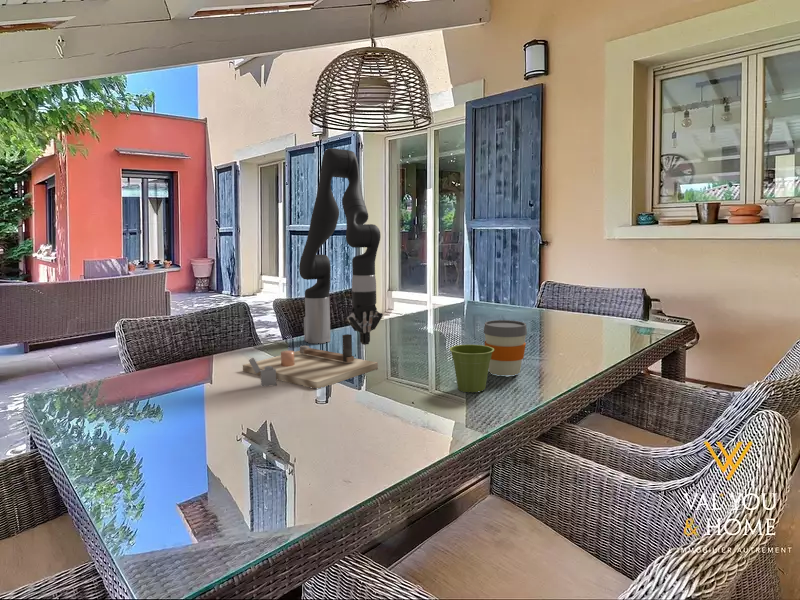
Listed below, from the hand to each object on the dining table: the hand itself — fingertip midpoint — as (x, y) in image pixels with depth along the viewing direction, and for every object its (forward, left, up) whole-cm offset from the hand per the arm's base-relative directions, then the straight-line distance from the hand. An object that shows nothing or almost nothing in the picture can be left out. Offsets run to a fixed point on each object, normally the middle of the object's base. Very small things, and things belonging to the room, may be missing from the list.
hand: (365, 344), depth 169 cm
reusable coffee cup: (+39, +18, -7) cm, 44 cm away
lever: (-11, -6, -4) cm, 14 cm away
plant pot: (+39, -2, -7) cm, 40 cm away
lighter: (-10, -32, -7) cm, 35 cm away
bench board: (-11, -13, -7) cm, 18 cm away
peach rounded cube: (-15, -18, -5) cm, 24 cm away
